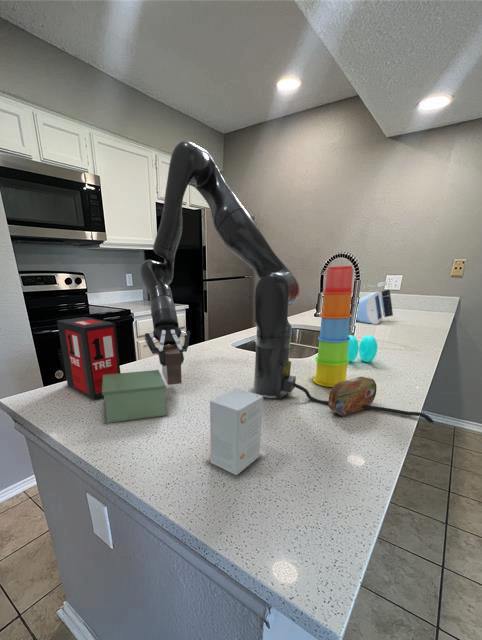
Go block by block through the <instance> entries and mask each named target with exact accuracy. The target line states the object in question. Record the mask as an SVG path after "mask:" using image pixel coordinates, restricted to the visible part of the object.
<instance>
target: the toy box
mask: <svg viewBox="0 0 482 640" xmlns="http://www.w3.org/2000/svg"><path fill="white" fill-rule="evenodd" d="M166 388H167V387H166V383H165V381H164V379H163V377H162V375H161V372H160V370H159V369H153V370H144V371H143V370H142V371H130V372H129V371H128V372H120V373H118V374H107V375H103V383H102V395H104V397H103V400H104V407H105V409H104V410H105V415H106V423H107V424H108V423H115V422H121V421H122V422H123V421H130V420H141V419H147V418H155V417H156V418H157V417H162V416H163V417H164V416H166V415H167V412H166V396H165V395H166V394H165V390H166Z"/></svg>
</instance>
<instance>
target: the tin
mask: <svg viewBox="0 0 482 640" xmlns="http://www.w3.org/2000/svg"><path fill="white" fill-rule="evenodd" d="M377 388H378V387H377V383H376V381H375V380H374V379H373V378H371V377H365V376H358V377H354V378H350V379H347V380H346V381H341V382H339V383H337V384H336V385H334V387H331V389H330V391H329V395H328V400H327V401H328V403H329V405H328V408H329V410H330V411H332V412H333V413H335V414H338V415H339V416H341V417H343V416H348V415H351V414H354V413H357V412H360V411H363V410H365V409H364V408H362V406H363V405H369V406H372V404H373V402H374V401H375V398H376V396H377V390H378V389H377Z"/></svg>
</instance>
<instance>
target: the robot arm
mask: <svg viewBox="0 0 482 640" xmlns="http://www.w3.org/2000/svg"><path fill="white" fill-rule="evenodd" d="M188 186H191V187H193V188H195V189H196V190H197V191H198V193H199V194H200V195H201V196H202V198H203V199H204V201H205V202H206V203H207V205H208V207H209V210H210V215H211V220H212V223H213V226H214V229H215V231H216V232H217V233H218V235H219V237H220V238H221V240H222V241H223V243H224V245H225V246H226V247H227V248H228V249H229V250H230V251H231V253H233V254H234V255H235V256H237V258H239V259H240V260H241V261H242V262H244V264H246V265H247V266H248V267H249V268H250V269H251V270H252V271H253V272H254V274H255V275H256V276H257V277H258V279H259V280H258V281H257V283H256V286H255V291H254V324H255V327H256V338H255V340H256V342H255V359H254V375H253V376H254V377H253V390H252V391H253V392H252V393H255V394H258V395H261V396H263V399H277V400H278V399H279V400H282V398H283V397H285V396H286V395H287V394H289V393H291V394H292V392H293V390H294V389H295V388H296V389H298V390H301V391H302V392H304V394H305V395H306V397H307V399H309V400H310V401H312V402H314V403H318V404H322V405H325V406H327V405H328V406H329V403H328V401H329V400H322V399H318V398H315V397H314V396H312V395H311V394H310V392H309V390H308V389H307V388H305V387H304V386H303V385H300V384H298V383H296V381H297V376H296V375H291V369H292V361H291V360H290V351H291V340H292V332H293V331H292V330H293V327H292V324H291V323H290V322H289V317H288V315H289V314H288V313H289V306H292V305H293V304H294V303H296V301H298V298H299V296H300V286H299V282H298V279H297V278H296V276H295V275H294V274H293V273H292V272H291V271H290V269H289V268H288V267H287V266H286V265H285V263H284V262H283V261H282V260H281V259H280V258H279V257H278V255H277V254H276V252H274V250H273V249H272V247H271V245H270V244H269V242H268V241H267V239H266V238H265V236H264V235H263V233H262V232H261V230H260V229H259V228H258V226H257V224H256V223H255V221H254V219H253V218H252V217H251V215H250V214H249V212H248V210H247V209H246V207H245V206H244V205H243V204H242V203H241V201H240V200H239V198H238V197H237V196H236V194H235V193H234V192H233V191H232V189H231V188H230V187H229V186H228V184H227V183H226V181H225V179H224V177H223V176H222V173H221V171H220V169H219V168H218V166H217V163H216V162H215V160H214V159H213V157H212V155H211V154H210V153H209V152H208V151H207V150H206V149H205V148H204V147H203V148H202V147H201V146H199V145H196V144H195V143H193V142H190V141H188V140H183V141H180V142H179V143H178V144H176V145H175V146H174V148H173V150H172V153H171V155H170V160H169V165H168V173H167V178H166V185H165V194H164V201H163V207H162V213H161V218H160V222H159V226H158V229H157V233H156V236H155V238H154V239H155V240H154V243H153V247H152V249H153V252H154V254H156V255H157V256H158V257H161V258H163V259H164V260H163V262H160V261H157V260H153V259H145V260H144V261H143V262H142V263H141V265H140V270H139V273H140V278H141V281H142V283H143V286H144V287H145V289H146V291H147V293H148V295H149V302H150V316H151V319H152V326H153V331H152V332H151V333H149V332H146V333H145V334H144V340H145V343H146V344H147V346H148V348H149V350H150V352H151V354H153V355H155V354H156V355H157V356H158V360H159V364H160V365H161V366H162V365H163V366H165V364H166V363H165V356H164V352H163V347H164V345H174V346H176V347H177V349H178V350H179V351H180V353H181V366H182V365H183V363H184V362H185V361H184V360H185V357H184V353H186V352H188V348H189V343H190V337H191V331H190V330H187V331H182V329H181V328H180V325H179V320H178V315H177V310H176V309H177V308H176V305H175V303H174V299H173V293H172V289H171V287H170V285H171V283H172V282H173V279H174V272H175V271H174V270H175V269H174V268H175V258H176V253H177V250H178V247H179V245H180V241H181V238H182V234H183V202H184V196H185V194H186V191H187V188H188ZM180 337H182V339H183V340H184V341H183V345H182V344H181V340H180ZM154 339H156V341H158V342H159V344H158V347H157V346H156V344H155V343H154ZM362 408H364V410H372V411H379V412H387V413H393V414H399V415H402V416H403V415H404V416H415V417H420V418H423V419H425V420H426V422H428V423H430V424H434V423H435V422H434V420H433V419H432V418H431V417H430V416H429V415H428V414H426V413H423V412H419V411H407V410H402V409H396V408H389V407H383V406H376V405H375V406H374V405H370V406H369V405H363V406H362ZM419 415H420V416H419Z"/></svg>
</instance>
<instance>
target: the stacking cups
mask: <svg viewBox="0 0 482 640" xmlns="http://www.w3.org/2000/svg"><path fill="white" fill-rule="evenodd" d="M353 274H354V268H353V265H342V266H341V265H340V266H328V267H327V269H326V274H325V287H324V291H322V293H323V301H322V303H323V304H322V311H321V314H319V316H320V317H321V319H320V329H319V330H320V331H319V336H318V337H317V340H318V350H317V357H315V362H316V368H315V376H314V377H313V378H312V381H313V382H314V384H317V385H318V386H322V387H326V388H333V387H334V385H336V384H337V383H339V382H341V381H346V380H348V379H347V370H348V364H349V363H350V362H349V359H348V358H347V354H348V342H349V340H350V337H348V336H349V335H350V323H351V318H350V317H352V315H351V314H350V307H351V305H352V294H353V293H354V290H352V289H353V288H352V287H353V278H354V277H353Z"/></svg>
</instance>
